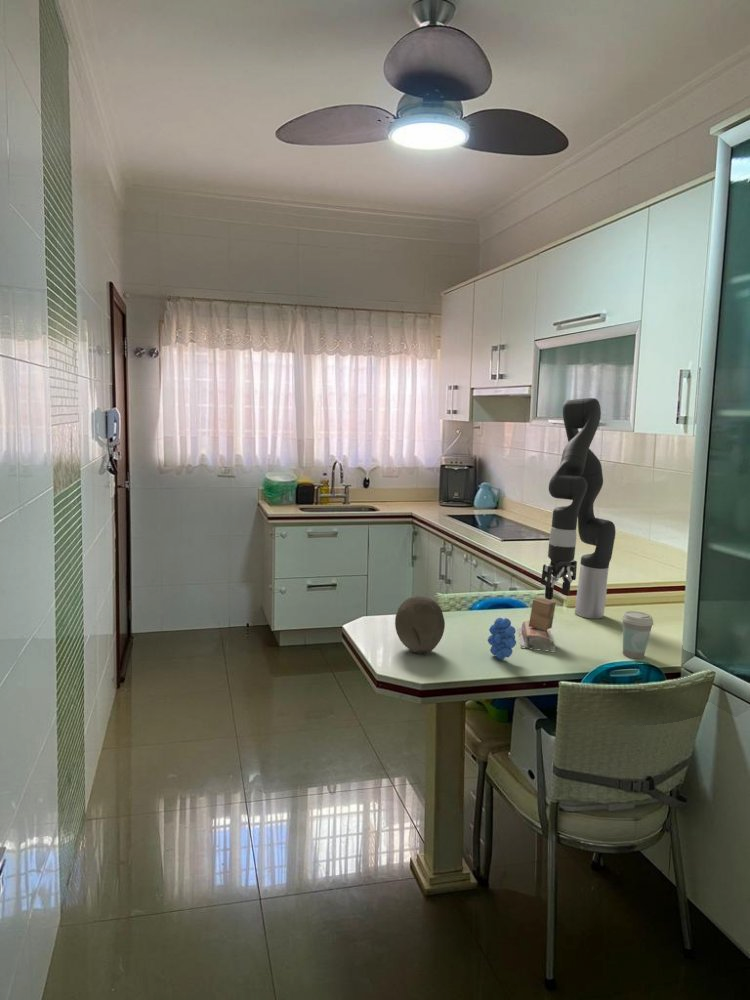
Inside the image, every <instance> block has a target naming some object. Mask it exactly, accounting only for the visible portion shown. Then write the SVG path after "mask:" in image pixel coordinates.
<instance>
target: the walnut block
mask: <svg viewBox="0 0 750 1000" xmlns="http://www.w3.org/2000/svg"><path fill="white" fill-rule="evenodd" d="M556 602H557V601H554V600H552V599H551V600H549V599H546V598H545V597H544V598H543V597H538V598H534V599H532V603H531V604H532V605H531V611H530V617H529V621H530V622H529V626H531V627H534V628H537V629H540V630H543V631H545V630H551V629H552V628H553V621H554V616H555V610H556V609H555V608H556Z"/></svg>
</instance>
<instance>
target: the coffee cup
mask: <svg viewBox="0 0 750 1000" xmlns="http://www.w3.org/2000/svg"><path fill="white" fill-rule="evenodd" d="M621 620H622V654H623V656H625V657H628V658H631V659H638V660H639V659H644V658H645V654H646V650H647V646H648V643H649V639H650V635H651V631H652V626H654V619H653V616H652V615H651V614H648V613H646V612H641V611H634V610H628V611H625V612H624V614H623V616H622V618H621Z"/></svg>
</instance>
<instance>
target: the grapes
mask: <svg viewBox="0 0 750 1000" xmlns="http://www.w3.org/2000/svg"><path fill="white" fill-rule="evenodd" d="M488 630H489V633H490V635H489V636H488V639H487V642H488V644H489V645H490V646H491V647H490V649H489V651H490V653H491V654H492V655H494V656H495V657H496V659H497V660H499V659H500V661H503V660H504V659H506V658H510V657H511V655H512V654H513V648H515V646H516V645H517V641H516V629H515V626H513V625H512V621H511V620H510V619H509V618H507V617H506V618H505V617H504V618H502V617H497V618H496V619H495V621H494V623H493V624H491V625H490V627H489V629H488Z"/></svg>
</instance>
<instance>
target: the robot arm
mask: <svg viewBox="0 0 750 1000" xmlns="http://www.w3.org/2000/svg"><path fill="white" fill-rule="evenodd" d="M601 414H602V411H601V404H600V402H599V400H598V399H597V398H594V397H587V398H578V399H568V400H566V401H564V402H563V405H562V419H563V425H564V429H565V435H566V437H567V444H566V445H565V447H564V449H563V451H562V455H561V459H560V464H559V465H558V467H557V469H556V470H555V472H554V473H553V475H552V477H551V479H550V480H549V483H548V491H549V494H550V495H551V497H552V498H554V499H560V500H569V501H572V502H571V503H570V505H566V506H564V505H563V506H557V507H555V508H553V511H552V519H551V528H550V532H549V533H550V534H549V540H548V551H547V557H548V558H549V559H550V563H549V564H545V563H543V565H542V571H541V580H540V584H541V585H543V586H545V589H544V590H545V592H544V599H548V600H551V601H552V600H553V597H554V586H555V584H556V582H558V581H559V580H560V578H561V579H562V581H563V582H562V584H561V585H562V586H561V594H562V595H564V596H569V595H570V592H571V584H572V583H573V581H576V578H577V565H578V561H577V560H575V555H576V544H577V531H578V536H579V539H580V540H581V542H582V543H584V544H586V545H591V546H594V547H595V548H594V552H592V553H588V554H583V555H582V556H581V558H580V563H579V564H580V565H579V572H578V582H577V590H576V598H575V607H574V608H575V609H574V614H575V615H577V616H579V617H581V618H586V619H595V620H596V619H597V620H599V619H602V618H603V617H604V616H605V608H606V602H607V601H606V600H607V592H608V587H607V586H608V574H609V569H610V568H609V567H610V563H611V559H612V557H613V550H614V545H615V539H616V525H615V524H614V522H613V521H612V520H608V519H605V518H604V519H603V518H598V517H596V516H595V513H594V512H595V511H594V504H595V500H596V499H597V497H598V496H599V494H600V492H601V490H602V488H603V485H604V477H603V468H602V467H603V466H602V464H601V461H600V460H599V458H598V457H597V455H596V454H595V452H593V450H591V449H590V446H591V444H592V443H593V441H594V440H593V439H594V437H595V435H596V432H597V430H598V428H599V425H600V422H601V416H602V415H601ZM579 429H581V430H579Z"/></svg>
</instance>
